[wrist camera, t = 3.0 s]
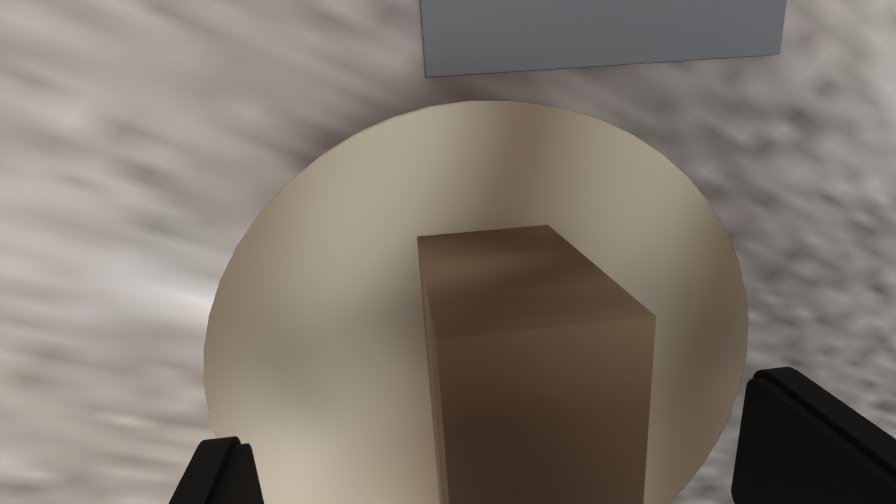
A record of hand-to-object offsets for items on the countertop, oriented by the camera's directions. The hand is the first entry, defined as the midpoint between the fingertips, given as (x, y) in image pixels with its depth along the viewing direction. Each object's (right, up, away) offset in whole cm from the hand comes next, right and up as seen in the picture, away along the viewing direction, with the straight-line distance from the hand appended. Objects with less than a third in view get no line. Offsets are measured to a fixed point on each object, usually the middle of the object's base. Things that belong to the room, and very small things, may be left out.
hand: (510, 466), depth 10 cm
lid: (0, +1, +4) cm, 5 cm away
